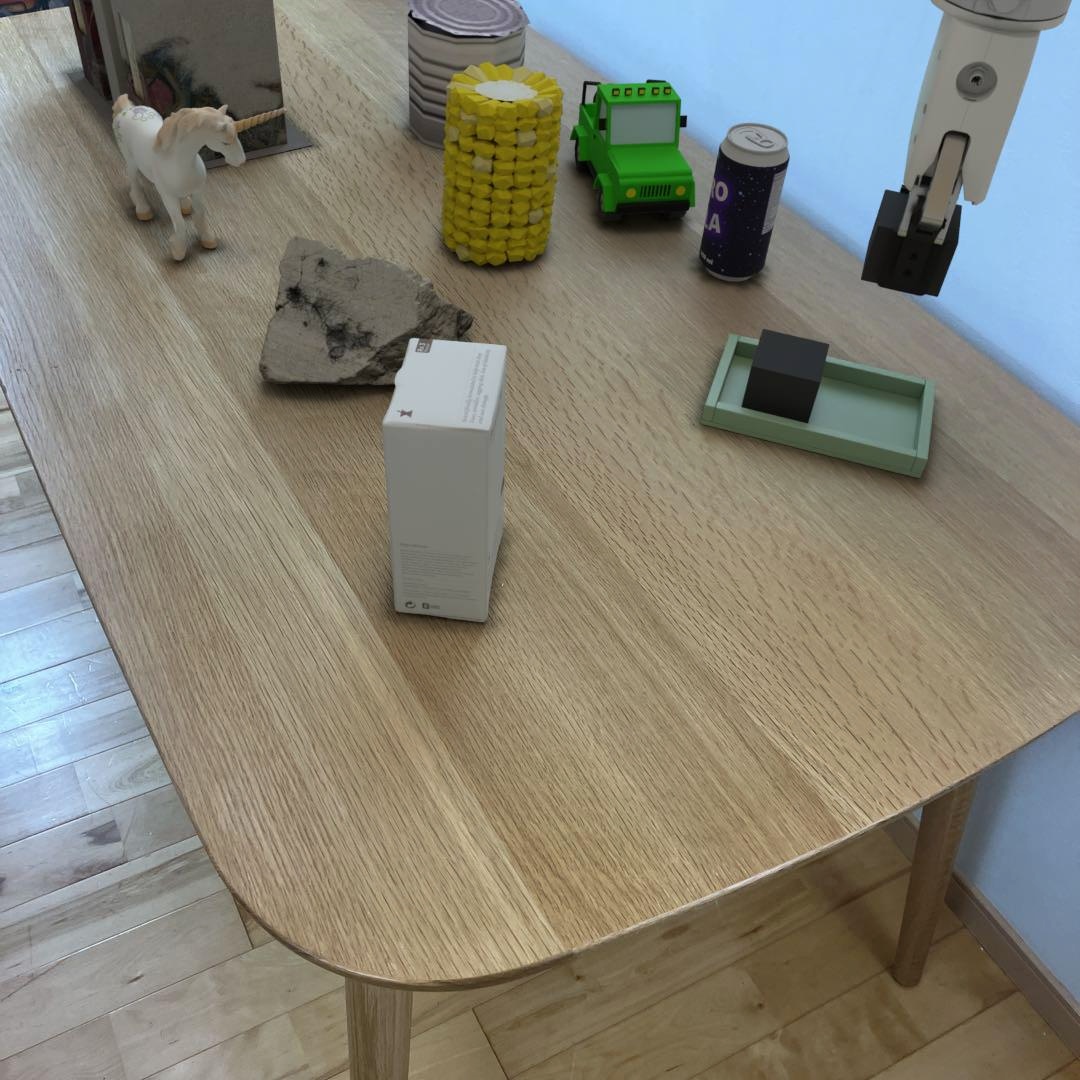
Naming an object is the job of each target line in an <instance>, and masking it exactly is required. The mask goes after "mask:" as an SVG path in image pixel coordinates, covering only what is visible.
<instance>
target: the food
mask: <svg viewBox="0 0 1080 1080" xmlns="http://www.w3.org/2000/svg"><path fill="white" fill-rule="evenodd" d="M446 91H447V99H448V101H447V105H446V109H445V113H446V122H447V123H446V125H445V127H444V129H445V133H446V138H445V139H444V141H443V143H444V146H445V150H443V153H442V159H443V164H442V168H441V172H442V174H443V176H444V177H443V178H442V180H441V183H442V186H443V194H442V198H441V202H442V203H443V205H442V209H441V214H442V215H441V216H440V221H441V224H442V228H441V230H440V234H441V236H442V237H443V240H444V244H445V245H446V247H447V248H448V249H449V250H450V251H451V252H455V253H456V255H457V257H458V259H459V261H461V262H463V263H465V262H470V261H472V262H473V263H475V264H476V265H478V266H483V265H485V264H488V263H489V264H491V265H493V266H495V267H496V266H500V265H502V264H504V263H506V261H507V260H508V261H509V262H510V263H512V262H521V261H523V260H524V259H525V260H527V261H534V259H536V257H537V256H540V255H543V254H544V253H545V250H546V247H547V243H548V242H549V234H550V233H551V230H552V225H553V224H552V221H551V219H552V216H553V208H552V207H553V205H554V202H555V200H554V198H555V193H556V185H555V184H556V183H557V182H558V181H559V180H558V174H557V172H558V167H559V159H558V156H557V154H558V152H559V150H560V148H561V145H560V139H561V131H562V130H561V129H562V128H561V127H562V123H561V120H562V119H561V118H562V115H563V109H564V106H563V102H562V100H563V98H564V95H565V93H564V91H563V89H562V88H561V87H560V86H559V85H558V80H557V78H555V77H547V75H546V73H545V72H542V71H537V70H536V71H534V72H533V71H532V70H531V69H529V68H527V67H526V66H525V65H524V66H522V67H519V68H516V69H514V70H513V69H512V68H510V67H509V66H507V65H505V64H502V65H499V66H497V67H495V66H494V65H492V64H491V63H489V62H485V63H482V64H479V66H478V67H476V66H473V65H470V66H469V67H468V68H467V69H466V70H465V71H464V72H463V73H462V74H454V75H453V77H452V79H451V81H450V84H449V85H448V86H447V87H446Z"/></svg>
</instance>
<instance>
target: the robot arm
mask: <svg viewBox="0 0 1080 1080" xmlns="http://www.w3.org/2000/svg"><path fill="white" fill-rule="evenodd" d="M930 1H931V2H930V3H931V4H933V6H935V7H936V8H937V9H939V10H940V11H942V16H941V19H940V22H939V25H938V29H937V32H936V35H935V38H934V42H933V45H932V47H931V48H932V49H931V52H930V55H929V58H928V62H927V65H926V69H925V71H924V75H923V79H922V83H921V86H920V90H919V93H918V98H917V102H916V106H915V110H914V114H913V118H912V119H913V120H912V125H911V129H910V134H909V140H908V147H907V153H906V159H905V167H904V172H903V173H904V174H903V181H902V183H903V184H901V186H900V189H899V192H901V193H905V194H909V196H908V200H907V203H906V206H905V209H904V212H903V216H902V219H901V222H900V225H899V228H897V227H894V229H893V232H892V235H891V238H890V241H889V244H888V247H887V250H886V253H885V256H884V259H883V262H882V265H881V269H880V272H879V275H878V278H877V283H876V285H877V286H878V287H879V288H883V289H886V290H891V291H896V292H900V293H904V294H909V295H914V296H918V297H923V296H925V295H926V293H927V291H928V288H929V286H930V283H931V280H932V278H933V275H934V272H935V270H936V267H937V264H938V261H939V259H940V256H941V253H942V251H943V248H944V245H945V243H946V238H945V236H946V233H947V230H948V227H949V224H950V221H951V218H952V215H953V212H954V209H955V206H956V204H957V202H958V200H959V197H960V194H961V191H963V200H964V202H970V203H971V205H972V206H978V205H980V204H981V203H983V202H984V201H985V200H986V198H987V195H988V192H989V189H990V186H991V183H992V181H993V177H994V175H995V172H996V168H997V166H998V163H999V161H1000V157H1001V154H1002V152H1003V149H1004V146H1005V143H1006V140H1007V137H1008V135H1009V132H1010V130H1011V126H1012V124H1013V121H1014V119H1015V115H1016V112H1017V109H1018V106H1019V104H1020V101H1021V98H1022V95H1023V93H1024V89H1025V86H1026V84H1027V83H1026V82H1027V79H1028V77H1029V74H1030V70H1031V67H1032V64H1033V60H1034V58H1035V53H1036V51H1037V48H1038V44H1039V40H1040V36H1041V32H1043V31H1048V30H1052V29H1055V28H1057V27H1059V26H1060V25H1062V24H1063V23H1064V22H1065V19H1066V17H1067V14H1068V12H1069V9H1070V6H1071V3H1072V1H1073V0H930ZM962 189H963V190H962ZM918 197H924V198H926V200H925V203H924V205H923V207H922V208H919V207H918V208H917V209H916V210H915V207H916V204H917V201H918ZM914 210H915V212H914Z"/></svg>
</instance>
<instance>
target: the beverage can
mask: <svg viewBox="0 0 1080 1080" xmlns="http://www.w3.org/2000/svg"><path fill="white" fill-rule="evenodd" d="M788 145H789V137H788V136H787V134H785V133H784V132H783V131H781V130H780V129H779V128H776V127H774V126H771V125H769V124H764V123H758V122H742V123H737V124H734V125H732V126H730V128H728V130H727V131H726V136H725V137H724V138H723V140H722V141H721V142H720V144H719V146H718V151H717V156H716V161H715V162H716V163H715V167H714V172H713V178H712V183H711V189H710V195H709V198H708V204H707V209H706V216H705V221H704V226H703V232H702V236H701V242H700V245H699V246H700V247H699V252H698V258H699V261H700V262H701V263H702V265H703V266H704V267H705V268H706V270H707V272H708V273H709V274H710V275H712V276H713V277H715V278H717V279H719V280H722V281H726V282H743V281H746V280H749V279H750V278H752V277H753V276H755V275H757V274H758V273H761V271H762V270H763V269H764V267H765V264H766V259H767V255H768V252H769V247H770V243H771V239H772V235H773V230H774V227H775V222H776V218H777V214H778V209H779V205H780V201H781V197H782V192H783V190H784V189H783V188H784V183H785V180H786V175H787V171H788V167H789V163H790V158H791V155H790V152H789V148H788Z"/></svg>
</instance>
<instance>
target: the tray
mask: <svg viewBox="0 0 1080 1080" xmlns="http://www.w3.org/2000/svg"><path fill="white" fill-rule="evenodd" d="M759 340H760V339H757V338H753V337H748V336H744V335H739V334H735V333H729V334H728V337H727V340H726V341H725V345H724V348H723V350H722V354H721V357H720V360H719V363H718V365H717V369H716V371H715V374H714V377H713V379H712V382H711V385H710V388H709V390H708V394H707V396H706V397H707V398H706V400H705V403H704V405H703V406H704V407H703V411H702V415H701V420H700V424H701V425H705V426H708V427H711V428H716V429H720V430H725V431H729V432H732V433H736V434H740V435H744V436H747V437H752V438H755V439H761V440H764V441H768V442H772V443H776V444H781V445H784V446H788V447H792V448H796V449H800V450H805V451H809V452H812V453H816V454H820V455H824V456H828V457H832V458H837V459H840V460H844V461H849V462H853V463H857V464H861V465H864V466H868V467H872V468H876V469H880V470H884V471H888V472H893V473H896V474H900V475H903V476H909V477H912V478H917V479H921V477H922V474H923V472H924V470H925V468H926V465H927V463H928V461H929V453H930V445H931V443H930V442H931V433H932V425H933V416H934V406H935V399H936V398H935V397H936V389H937V381H935V380H932V379H928V378H927V379H925V378H924V377H923V378H922V377H918V376H914V375H910V374H906V373H901V372H897V371H893V370H889V369H886V368H885V369H884V368H880V367H876V366H871V365H867V364H863V363H859V362H854V361H850V360H846V359H842V358H839V357H838V358H837V357H833V356H829V355H827V357H826V361H825V366H824V370H823V374H822V379H821V383H820V386H819V389H818V393H817V396H816V399H815V402H814V406H813V409H812V412H811V416H810V419H809V422H808V424H807V423H803V422H799V421H795V420H791V419H787V418H783V417H779V416H775V415H771V414H767V413H763V412H759V411H755V410H750V409H746V408H742V407H741V406H742V402H743V398H744V394H745V390H746V386H747V382H748V378H749V374H750V370H751V366H752V362H753V359H754V356H755V353H756V350H757V346H758V343H759Z"/></svg>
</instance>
